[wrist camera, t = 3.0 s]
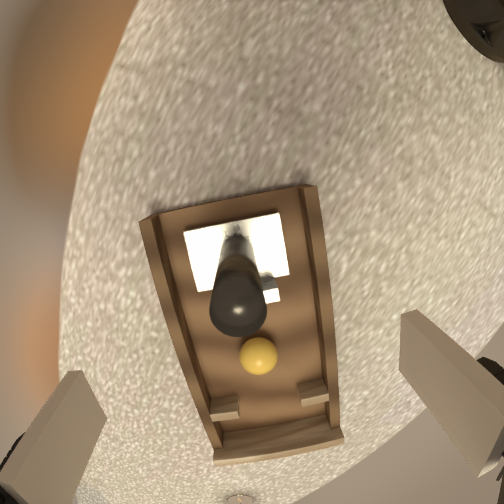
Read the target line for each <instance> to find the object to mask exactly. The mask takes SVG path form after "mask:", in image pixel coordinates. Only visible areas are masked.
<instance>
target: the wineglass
mask: <svg viewBox="0 0 504 504" xmlns="http://www.w3.org/2000/svg"><path fill="white" fill-rule="evenodd" d="M252 502H253V499H252V498H251V497H249V496H245V495H236V496H232V497H230V498H229V499H228V503H229V504H251V503H252Z"/></svg>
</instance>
